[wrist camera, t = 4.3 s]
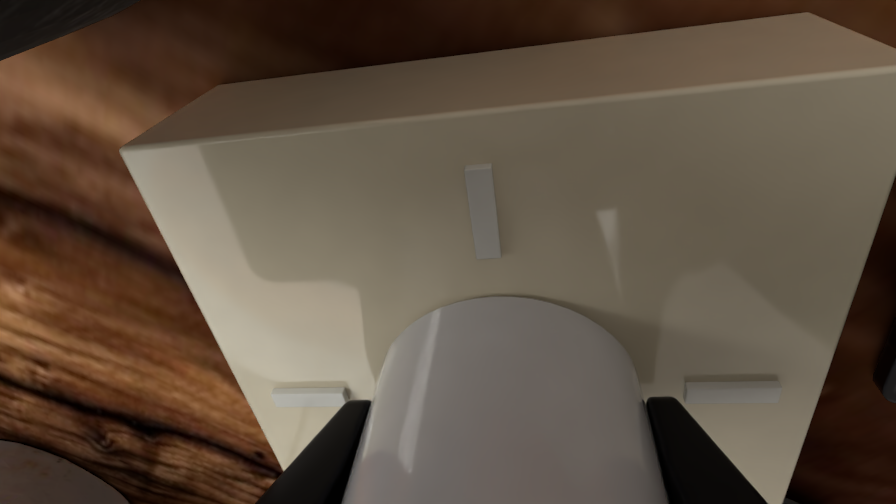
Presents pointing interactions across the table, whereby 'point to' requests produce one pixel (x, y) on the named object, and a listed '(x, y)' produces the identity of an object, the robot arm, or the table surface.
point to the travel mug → (48, 20)
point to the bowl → (48, 479)
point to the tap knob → (506, 413)
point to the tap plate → (544, 214)
